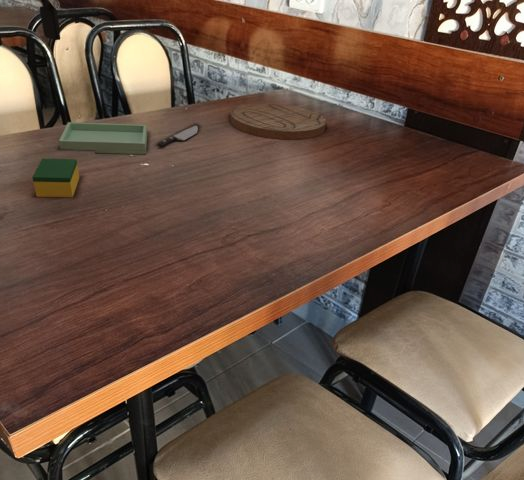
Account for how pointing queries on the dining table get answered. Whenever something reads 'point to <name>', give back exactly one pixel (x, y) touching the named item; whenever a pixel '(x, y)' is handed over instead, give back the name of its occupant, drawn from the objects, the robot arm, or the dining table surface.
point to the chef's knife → (180, 136)
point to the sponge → (56, 178)
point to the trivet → (277, 121)
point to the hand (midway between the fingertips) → (24, 41)
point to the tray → (105, 138)
